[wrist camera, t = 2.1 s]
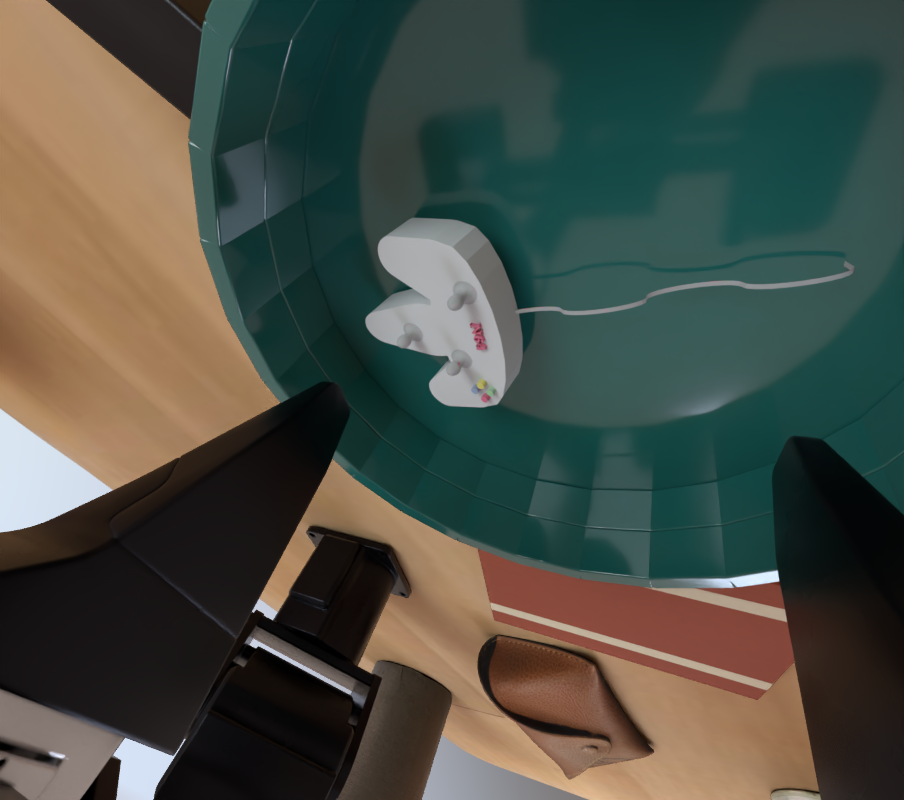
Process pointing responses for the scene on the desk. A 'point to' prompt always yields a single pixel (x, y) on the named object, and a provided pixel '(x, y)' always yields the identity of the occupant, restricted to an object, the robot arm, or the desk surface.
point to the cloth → (652, 623)
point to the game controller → (469, 307)
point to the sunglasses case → (559, 703)
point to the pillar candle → (398, 737)
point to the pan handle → (147, 39)
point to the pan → (575, 254)
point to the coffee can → (794, 795)
